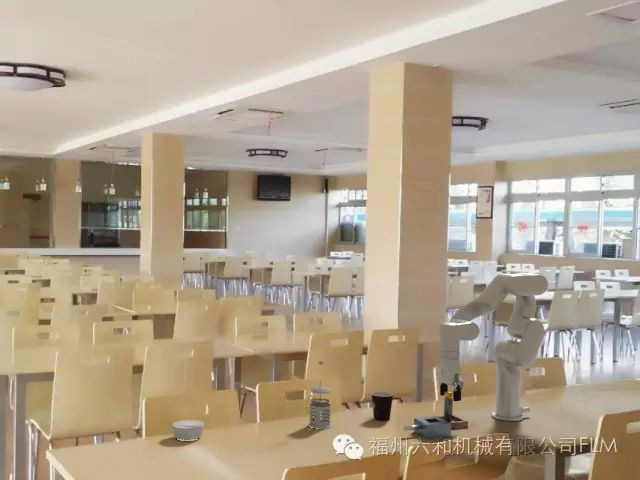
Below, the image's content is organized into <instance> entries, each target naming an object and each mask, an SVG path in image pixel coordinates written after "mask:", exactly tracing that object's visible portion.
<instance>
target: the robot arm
mask: <svg viewBox="0 0 640 480" xmlns="http://www.w3.org/2000/svg"><path fill="white" fill-rule="evenodd" d="M548 288H549V282H548V279H547V277H545V276H544V275H542V274H539V273H529V272H517V273H515V274H514V273H499V274H496V275H495V277H494V278H493V279H492V280H491V281H490V282H489V284H488V285H487V286H486V287H485V288H484V290H482V292H481V293H480V294H479V296H477V298H475V299H473V300H471V301H469V302H468V303H466V304H465V305H463V306H461V307H460V308H459V309H458V310H457V311H456V312H455V313H454V314H453V315H452V317H451V318H450V319H449V321H448V322H442V323H440V324H439V360H438V368H437V370H438V372H437V377H438V384H439V395H440V396H445V392H446V391H449V386H452V388H453V391H452V392H453V402H460V401H462V391H463V386H464V379H462V371H461V370H462V369H461V361H460V358H461V357H460V351H461V350H460V342H461V341H468V342H470V341H471V342H472V341H474V340H476V339H477V338H478V337H479V335H480V333H481V329H480V327H479V325H478V324H477V323H475V322H473V321H472V320H475V319H477V318H478V317H481V316H487V315H489V314H492V313H494V312H496V310H497V309H498V308H499V307H500V306H501V304H502V303H503V302H504V300H505V299H507V296H512V297H513V296H515V305H514V308H513V311H512V313H511V316H510V318H509V320H508V321H509V322H508V323H507V328H506V331H507V334H508V335H509V336H510V337H511V338H514V339H515V340H511V339H502V340H500V341H497V343H496V345H495V347H494V359H495V365H496V380H495V381H496V383H495V411H492V412H491V417H492V418H494V419H496V420H499V421H505V422H518V421H523V420H524V417H525V416H524V413H529V412H530V411H531V410H530V407H529V406H525V407H523V406H521V381H522V380H521V379H522V378H521V370H520V369H521V368H528V367H531V366H532V365H533V363H534V362H535V360H536V359H537V356H538V353H539V349H540V348H541V345H542V342H543V340H544V336H545V327H544V324H543V322H542V321H541V320H539V319H538V318H536V317H535V314H536V312H537V299H536V297H535V296H541V295H543V294H545V293H546V291H547V290H548ZM516 339H517V340H520V341H517V340H516Z"/></svg>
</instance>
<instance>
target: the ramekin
mask: <svg viewBox="0 0 640 480" xmlns="http://www.w3.org/2000/svg"><path fill="white" fill-rule="evenodd" d="M204 426H205V423H204V421H202V420H198V419H181V420H178V421H175V422H173V423H172V425H171V427H172V432H173V437H174V439H175V438H177V439H182V440H183V439H184V440H191V439H197V438H200V437H201V436H202V437H203V433H204V432H203V431H204ZM202 437H201V438H202ZM201 438H200V439H201Z"/></svg>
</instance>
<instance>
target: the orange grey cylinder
mask: <svg viewBox="0 0 640 480" xmlns="http://www.w3.org/2000/svg"><path fill="white" fill-rule="evenodd" d="M443 404H444V405H443V416H444V420H446V421H448V422H452V415H453V405H454V401H453V391H449V390H448V391H446V392H445V395H444V403H443Z"/></svg>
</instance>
